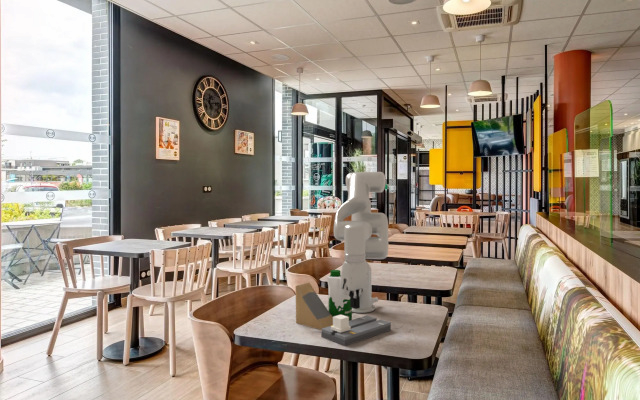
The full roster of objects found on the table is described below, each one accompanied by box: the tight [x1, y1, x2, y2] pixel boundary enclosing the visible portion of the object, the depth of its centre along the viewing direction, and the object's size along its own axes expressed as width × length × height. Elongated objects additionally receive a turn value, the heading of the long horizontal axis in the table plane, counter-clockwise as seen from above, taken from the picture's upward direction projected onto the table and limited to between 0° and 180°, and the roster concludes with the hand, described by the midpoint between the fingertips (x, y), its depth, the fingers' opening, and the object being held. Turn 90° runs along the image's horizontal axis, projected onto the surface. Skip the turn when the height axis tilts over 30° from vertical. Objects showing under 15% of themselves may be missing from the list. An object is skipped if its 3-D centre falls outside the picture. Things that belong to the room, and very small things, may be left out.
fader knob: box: [331, 315, 351, 333], centre depth 161 cm, size 5×5×6 cm
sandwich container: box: [295, 282, 333, 330], centre depth 178 cm, size 9×15×15 cm, turn 51°
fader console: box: [320, 315, 392, 347], centre depth 167 cm, size 24×12×3 cm, turn 131°
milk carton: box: [326, 269, 353, 320], centre depth 182 cm, size 9×9×20 cm
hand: (355, 307), depth 167 cm, fingers closed
